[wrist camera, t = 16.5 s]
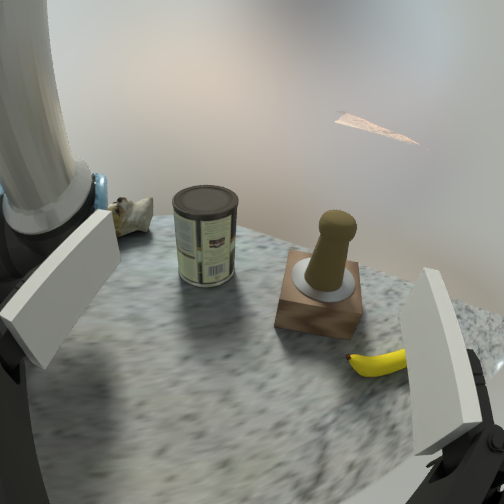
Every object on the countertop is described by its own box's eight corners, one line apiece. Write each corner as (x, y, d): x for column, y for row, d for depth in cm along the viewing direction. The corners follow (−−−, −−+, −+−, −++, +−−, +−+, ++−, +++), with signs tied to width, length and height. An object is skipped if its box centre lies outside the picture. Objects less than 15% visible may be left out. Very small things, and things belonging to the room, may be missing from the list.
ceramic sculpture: (156, 201, 56) (82, 220, 51) (162, 238, 61) (93, 256, 56) (148, 180, 64) (83, 196, 58) (153, 214, 69) (93, 230, 64)
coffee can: (204, 244, 61) (204, 179, 52) (245, 266, 56) (251, 197, 48) (165, 269, 54) (158, 199, 45) (208, 297, 49) (207, 222, 41)
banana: (437, 362, 40) (456, 337, 36) (335, 390, 37) (351, 365, 33) (429, 348, 42) (447, 323, 39) (329, 373, 39) (342, 346, 35)
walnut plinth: (273, 326, 45) (279, 297, 42) (284, 276, 55) (289, 247, 51) (350, 339, 44) (363, 312, 40) (348, 288, 53) (358, 261, 50)
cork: (347, 291, 43) (369, 228, 37) (308, 292, 43) (325, 226, 36) (336, 265, 48) (353, 205, 42) (300, 265, 48) (313, 202, 41)
